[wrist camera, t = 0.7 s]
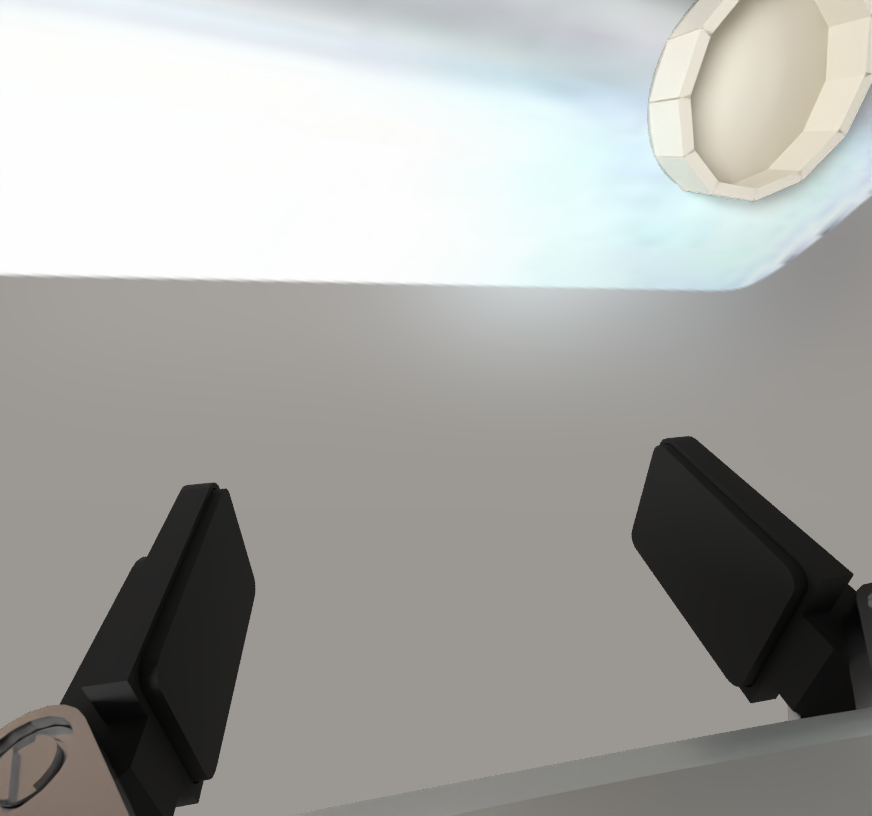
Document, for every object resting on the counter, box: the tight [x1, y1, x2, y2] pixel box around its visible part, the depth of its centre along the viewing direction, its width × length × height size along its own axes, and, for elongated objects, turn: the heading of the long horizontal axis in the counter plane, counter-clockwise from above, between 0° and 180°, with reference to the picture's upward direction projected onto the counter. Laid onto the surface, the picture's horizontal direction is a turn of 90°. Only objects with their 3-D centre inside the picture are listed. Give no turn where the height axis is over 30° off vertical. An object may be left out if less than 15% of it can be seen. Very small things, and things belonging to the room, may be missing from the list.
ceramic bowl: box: [647, 0, 872, 201], centre depth 32 cm, size 14×14×4 cm
